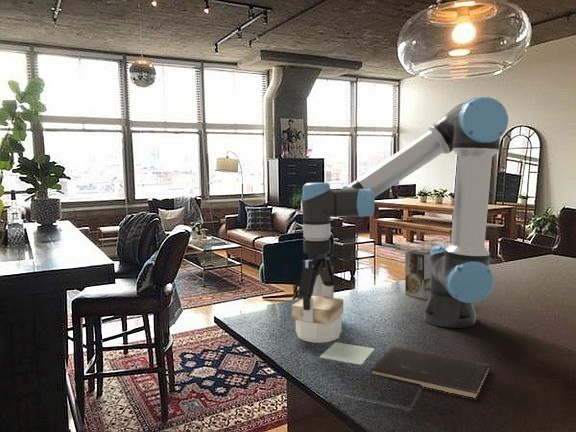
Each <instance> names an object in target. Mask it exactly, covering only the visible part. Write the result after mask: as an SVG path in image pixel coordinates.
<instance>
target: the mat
mask: <svg viewBox="0 0 576 432" xmlns="http://www.w3.org/2000/svg"><path fill="white" fill-rule="evenodd" d="M375 349H376V348H375V347H374V348H373V347H368V346H363V345H362V346H361V345H356V344H355V345H354V344H348V343H342V342H337V341H335V342H334V343H332V345H330V347H329V348H328V349H326V350H325V351H324V352H323V353H321V355H320V356H319V358H321V359H326V360H332V361H338V362H344V363H349V364H353V365H355V364H356V365H360V366H361V365H362V364H363V363H364V362H365V361H366V359H367V358H369V356H371V354H372V353H373V352H374V350H375Z"/></svg>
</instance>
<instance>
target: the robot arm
mask: <svg viewBox="0 0 576 432" xmlns="http://www.w3.org/2000/svg"><path fill="white" fill-rule="evenodd" d="M508 125H509V114H508V111H507V109H506V107H505V106H504V105H503V104H502V103H501V102H500V101H499V100H497V99H495V98H493V97H490V96H480V97H474V98H471V99H468V100H467V101H465V102H462V103H460V104H458V105H456V106H454V107H453V108H452V109H450V110H449V111H448V112H447V113H446V114H445V115H443V116H442V117H441V118H440V119H439V120H437V121H435V123H433V124H432V125H429V127H428V130H427V132H426V133H424V134H423V135H421V136H419V137H418V138H417V139H415V140H414V141H411V143H409V144H408V145H406V146H405V147H403V148H402V149H400V150H399V151H397V152H396V153H394V154H392V155H391V156H390V157H388V158H387V159H385V160H383V161H381V162H380V163H379V164H378V165H376V166H374V167H373V168H372V169H370V170H369V171H366V172H365V173H364V174H363V175H361V176H360V177H358V178H356V179H355V180H354V181H352V182H350V183H349V184H348V185H345V186H343V187H340V189H332V188H331V186H330V183H329V182H306V183H305V184H304V185H303V186H302V199H301V200H302V202H301V203H302V226H301V229H302V231H303V234H302V235H303V238H304V239H303V240H302V241H303V242H302V243H303V253H304V254H307V256H308V258H307V259H303V260H302V272H301V276H300V283H299V290H298V297H299V298H301V299H303V321H308V322H313V321H314V317H313V298H312V296H313V294H314V285H315V281H316V277H317V276H318V275H319V274H320V277H321V279H322V282H323V284H324V285H325V286H324V285H323V286H322V297H328V298H332V287H331V286H333V287H334V286H335V285H336V283H335V281H336V280H335V275H334V274H335V273H334V267H333V268H332V263H331V250H332V249H331V248H332V247H331V239H330V238H331V235H332V234H331V217H332V218H337V217H339V218H340V217H343V218H344V217H346V218H347V217H348V218H350V217H351V218H352V217H354V218H355V217H356V218H357V217H359V218H362V217H372V216H373V215H374V213H375V205H376V204H375V201H376V200H375V198H376V197H377V196H379V195H380V194H382V193H383V192H386V191H387V190H389V189H390V188H391V187H393V186H394V185H396V184H398V183H400V181H402V180H403V179H406V178H407V177H408V176H410V175H411V174H413V173H414V172H416V171H418V170H419V169H421V168H422V167H423V166H425V165H427V164H428V163H429V162H431V161H432V160H434V159H435V158H437V157H439V156H440V155H442V154H444V155H445V154H446V155H448V154H450V153H452V152H454V153H455V154H456V155H457V162H456V175H455V187H454V202H453V215H452V226H451V227H452V228H451V236H450V237H451V240H450V244H448V245H435V246H432V247H431V249H430V251H429V252H430V295H429V298H427V301H426V304H425V307H424V310H423V319H424V321H425V322H426V323H429V324H431V325H434V326H437V327H443V328H452V329H455V328H456V329H460V328H469V327H472V326H474V325H475V324H476V322H477V314H476V311H475V307H474V304H473V303H478V302H481V301H483V300H484V299H485V298H487V297H488V296H489V295H490V294H491V292H492V291H493V288H494V284H495V279H494V278H495V277H494V274H493V272H492V270H491V268H490V261H491V260H490V257H491V253H490V251H489V250H488V248H486V246H485V245H486V244H485V243H486V233H487V232H486V231H487V230H486V229H487V222H488V221H487V220H488V212H489V211H488V209H489V200H490V196H489V195H490V187H491V174H492V163H493V157H494V156H495V155H496V154H497V153H499V152H500V144H501V143H500V142H501V137H502V136H503V135H504V134H505V132H506V131H507V129H508Z"/></svg>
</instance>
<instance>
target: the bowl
mask: <svg viewBox="0 0 576 432" xmlns="http://www.w3.org/2000/svg"><path fill="white" fill-rule="evenodd" d="M295 332H296V333H297V334H296V335H297V338H298V339H300V340H301V341H303V342H304V341H305V342H307V343H308V342H309V343H316V344H317V343H318V344H321V343H328V342H333V341H335V340H337V339H339V338H340V336H341V333H342V314H341V315H340V316H339V317H338V318H336V319H335V320H334V321H333V322H331V323H330V324H329V325H327V324H320V323H313V322H306V321H299V320H295Z"/></svg>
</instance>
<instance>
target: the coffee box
mask: <svg viewBox="0 0 576 432" xmlns="http://www.w3.org/2000/svg"><path fill="white" fill-rule="evenodd" d="M404 253H405V254H404V260H405V261H404V263H405V264H404V272H405V275H404V276H405V280H404V281H405V282H404V284H405V295H407V296H411V297H415V298H419V299H422V300H426V299H427V300H428V298H429V295H430V251H428V250H420V249H412V250H409V251H405V252H404Z"/></svg>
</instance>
